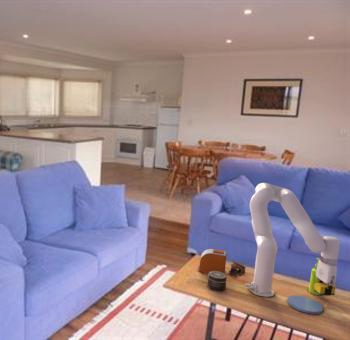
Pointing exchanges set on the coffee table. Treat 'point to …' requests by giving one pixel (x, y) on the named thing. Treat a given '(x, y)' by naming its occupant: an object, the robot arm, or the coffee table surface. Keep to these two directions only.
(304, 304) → the plate
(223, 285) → the jar
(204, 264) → the brown toaster
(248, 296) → the coffee table surface
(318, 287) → the sponge
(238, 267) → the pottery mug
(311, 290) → the soap dispenser
